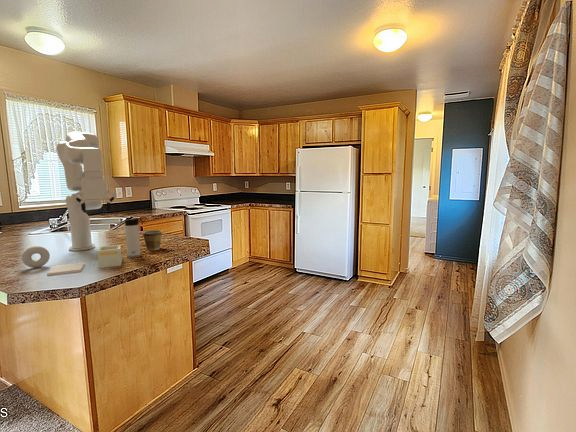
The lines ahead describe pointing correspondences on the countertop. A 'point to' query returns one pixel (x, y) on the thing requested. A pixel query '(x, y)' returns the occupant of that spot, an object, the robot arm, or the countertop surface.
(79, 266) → the beige square board
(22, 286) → the countertop surface
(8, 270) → the countertop surface
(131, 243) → the travel mug
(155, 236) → the ceramic cup
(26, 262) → the donut
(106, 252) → the cream lidded box
